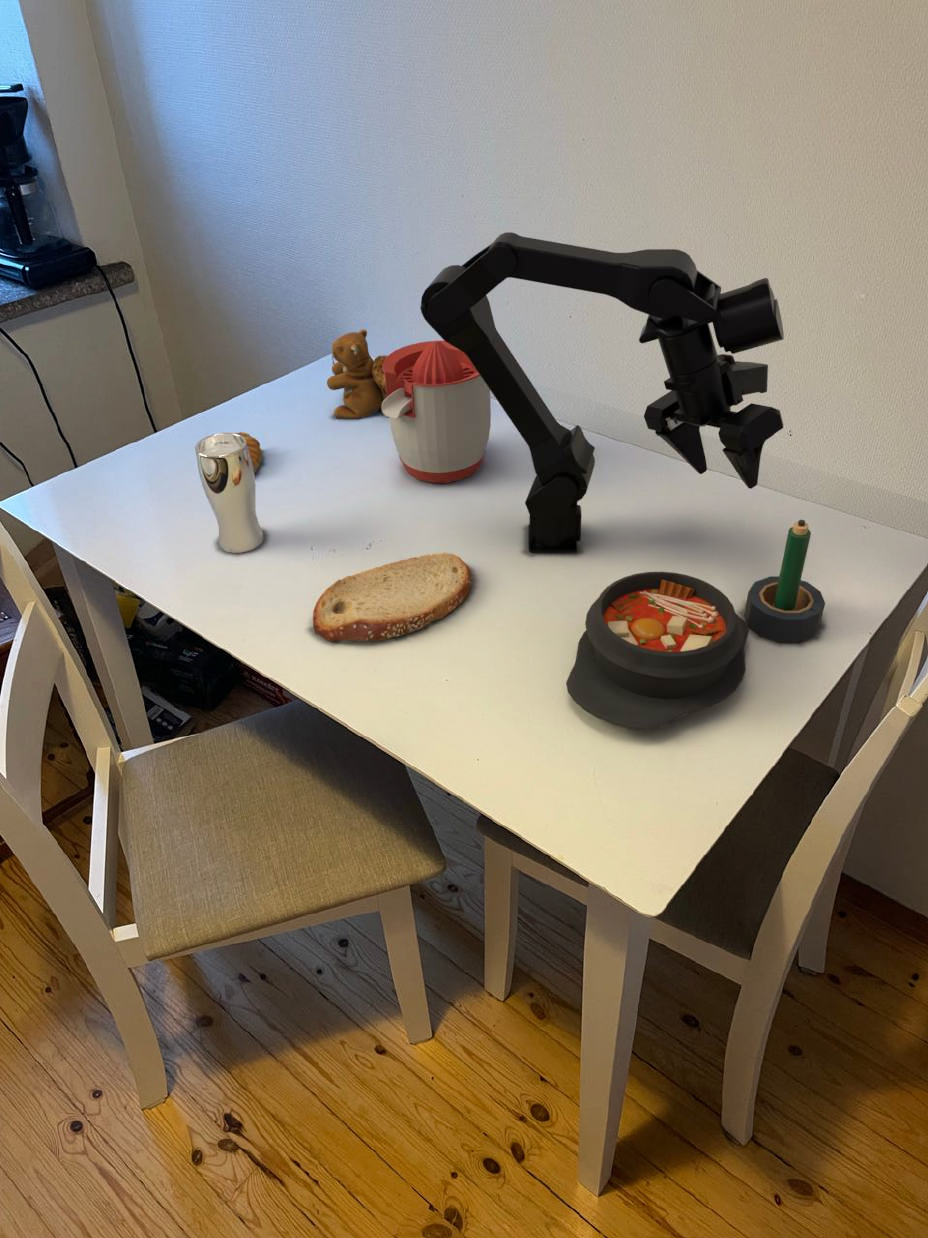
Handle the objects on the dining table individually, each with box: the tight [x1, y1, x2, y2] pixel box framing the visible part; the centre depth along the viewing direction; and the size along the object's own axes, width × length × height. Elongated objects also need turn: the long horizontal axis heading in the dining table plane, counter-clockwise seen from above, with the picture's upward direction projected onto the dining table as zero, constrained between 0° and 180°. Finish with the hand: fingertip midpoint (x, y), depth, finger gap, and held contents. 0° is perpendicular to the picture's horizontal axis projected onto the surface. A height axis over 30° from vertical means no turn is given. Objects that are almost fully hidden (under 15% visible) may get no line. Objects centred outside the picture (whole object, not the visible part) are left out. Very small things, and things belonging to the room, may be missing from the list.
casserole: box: [565, 571, 750, 731], centre depth 106 cm, size 25×19×8 cm
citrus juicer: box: [381, 340, 492, 485], centre depth 140 cm, size 16×17×20 cm
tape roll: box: [744, 575, 826, 644], centre depth 113 cm, size 8×8×4 cm
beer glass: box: [194, 432, 265, 554], centre depth 128 cm, size 7×7×15 cm
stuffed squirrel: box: [326, 328, 388, 419], centre depth 160 cm, size 10×14×13 cm
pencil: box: [773, 519, 812, 611], centre depth 110 cm, size 2×2×14 cm
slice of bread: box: [312, 552, 473, 643], centre depth 119 cm, size 18×18×4 cm
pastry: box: [235, 431, 263, 474], centre depth 148 cm, size 9×7×4 cm
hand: (727, 479), depth 117 cm, fingers open, 9 cm apart
